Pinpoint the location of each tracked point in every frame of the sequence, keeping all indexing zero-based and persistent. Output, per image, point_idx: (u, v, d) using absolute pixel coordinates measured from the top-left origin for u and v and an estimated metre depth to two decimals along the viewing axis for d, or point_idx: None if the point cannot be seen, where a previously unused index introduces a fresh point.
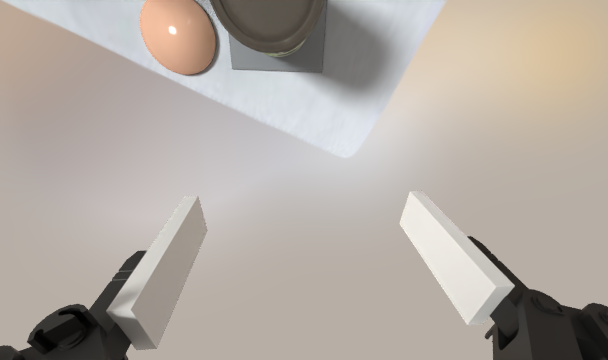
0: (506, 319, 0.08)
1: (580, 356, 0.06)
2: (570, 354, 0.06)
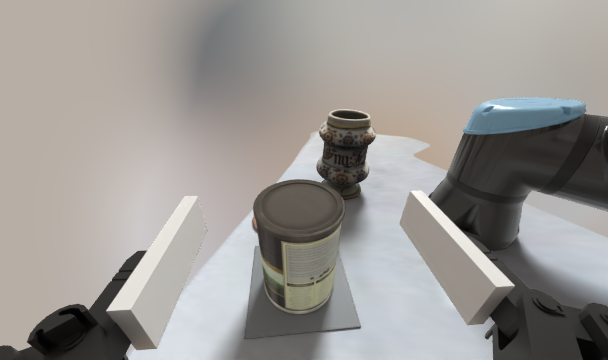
0: (506, 319, 0.08)
1: (580, 356, 0.06)
2: (570, 354, 0.06)
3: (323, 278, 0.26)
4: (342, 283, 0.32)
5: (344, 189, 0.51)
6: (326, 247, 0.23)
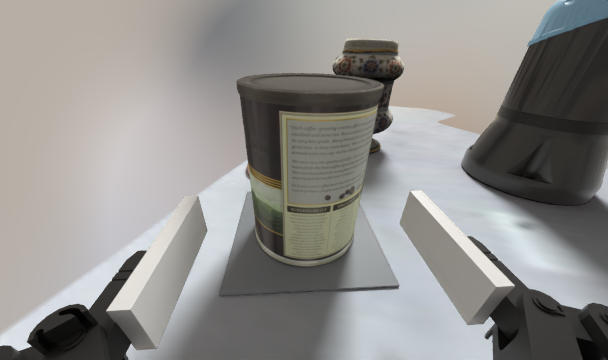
0: (506, 319, 0.08)
1: (580, 356, 0.06)
2: (570, 354, 0.06)
3: (344, 205, 0.16)
4: (366, 234, 0.22)
5: None
6: (354, 137, 0.14)
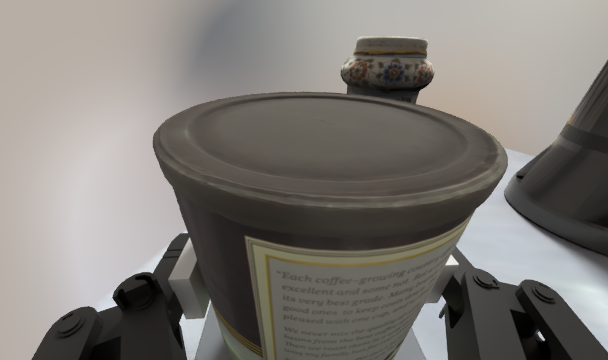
0: (454, 298, 0.09)
1: (513, 323, 0.07)
2: (505, 323, 0.07)
3: None
4: None
5: None
6: (438, 269, 0.06)
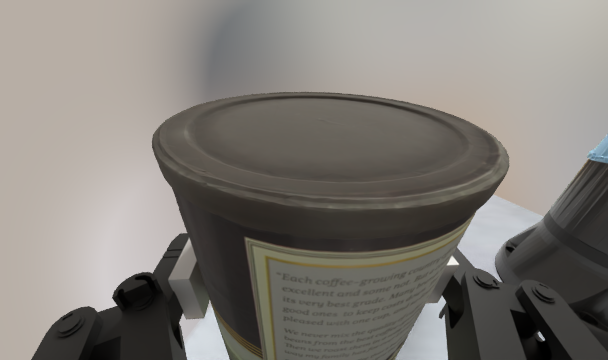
0: (454, 298, 0.09)
1: (513, 324, 0.07)
2: (505, 323, 0.07)
3: None
4: None
5: None
6: (439, 270, 0.06)
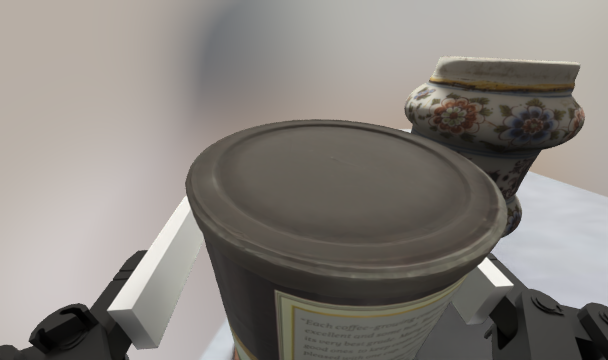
0: (505, 319, 0.08)
1: (579, 355, 0.06)
2: (569, 353, 0.06)
3: None
4: None
5: None
6: (443, 309, 0.06)
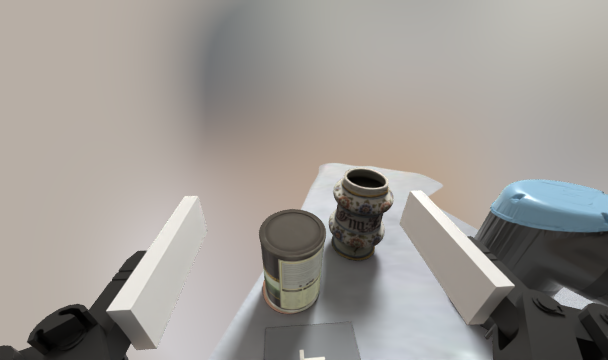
0: (506, 319, 0.08)
1: (580, 356, 0.06)
2: (570, 354, 0.06)
3: (309, 286, 0.35)
4: None
5: (357, 249, 0.48)
6: (310, 264, 0.32)
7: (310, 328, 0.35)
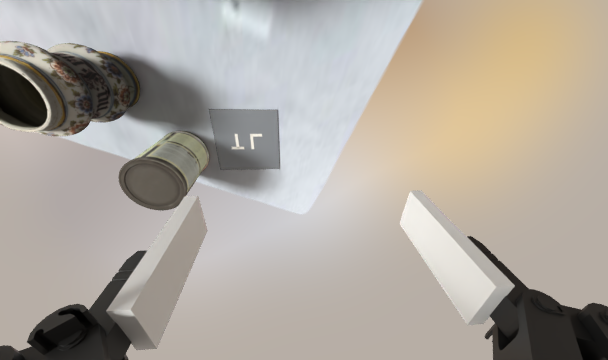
0: (506, 319, 0.08)
1: (580, 356, 0.06)
2: (570, 354, 0.06)
3: (193, 153, 0.43)
4: (249, 113, 0.46)
5: None
6: (182, 165, 0.38)
7: (217, 140, 0.49)
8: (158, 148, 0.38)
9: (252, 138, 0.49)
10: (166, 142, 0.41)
